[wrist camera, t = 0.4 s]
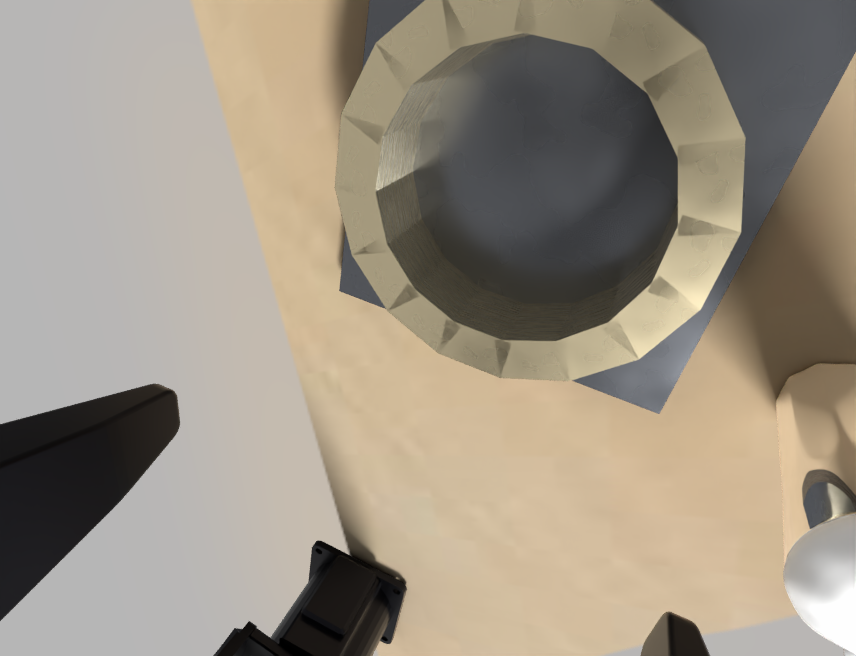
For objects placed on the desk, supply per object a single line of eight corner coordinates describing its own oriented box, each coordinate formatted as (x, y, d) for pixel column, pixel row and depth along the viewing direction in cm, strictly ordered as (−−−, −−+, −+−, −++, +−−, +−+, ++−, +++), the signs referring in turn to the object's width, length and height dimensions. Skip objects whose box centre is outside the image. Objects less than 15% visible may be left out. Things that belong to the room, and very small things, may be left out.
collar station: (660, 399, 22) (655, 465, 19) (350, 282, 25) (300, 320, 22) (878, -10, 14) (932, -18, 11) (395, -100, 18) (327, -127, 14)
